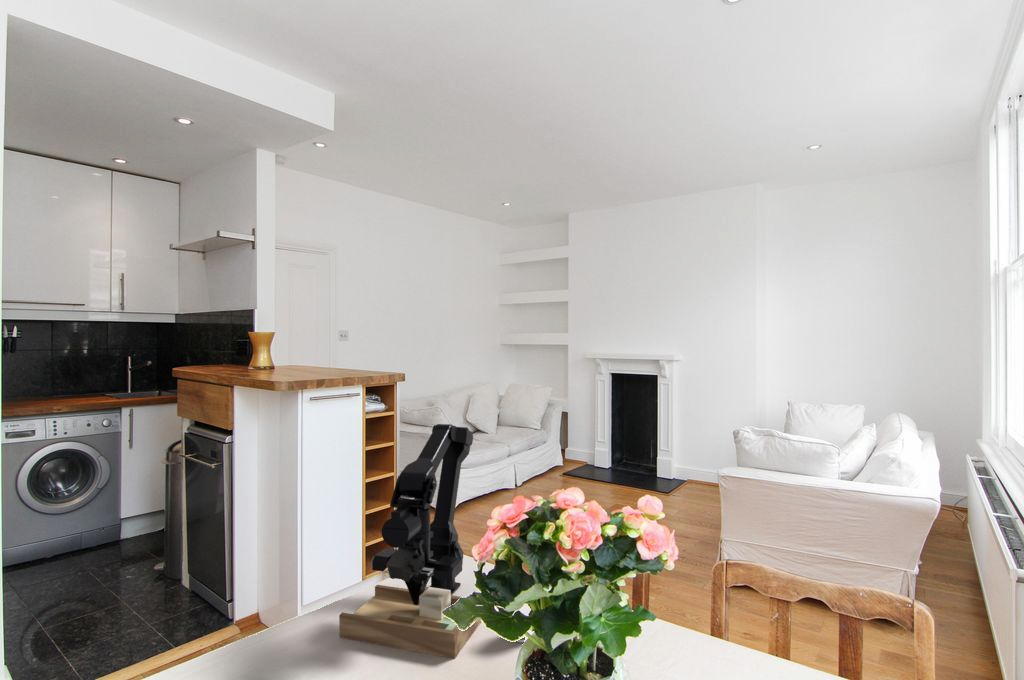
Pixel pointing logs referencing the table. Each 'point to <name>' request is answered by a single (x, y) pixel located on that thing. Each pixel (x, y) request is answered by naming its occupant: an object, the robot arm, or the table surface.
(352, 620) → the box
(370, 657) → the table surface
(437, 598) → the block
